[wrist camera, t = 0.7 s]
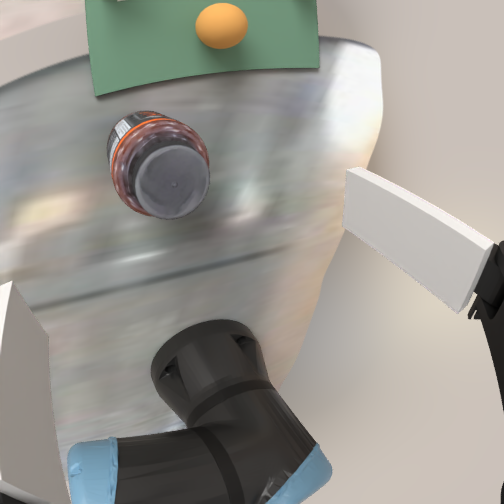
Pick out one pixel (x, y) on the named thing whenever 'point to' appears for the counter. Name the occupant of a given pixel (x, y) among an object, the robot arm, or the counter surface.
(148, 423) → the counter surface
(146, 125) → the supplement bottle
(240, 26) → the ball
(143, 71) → the pitch mat
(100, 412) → the counter surface
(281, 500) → the robot arm
